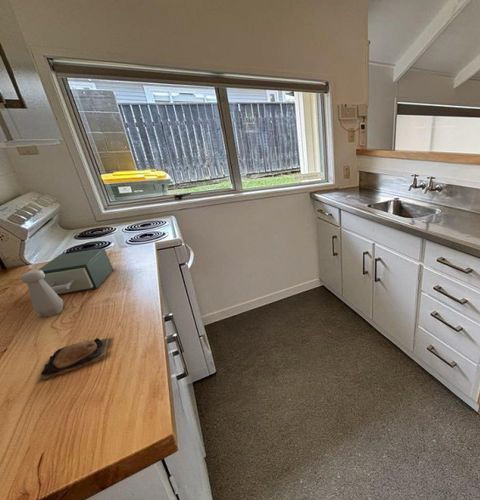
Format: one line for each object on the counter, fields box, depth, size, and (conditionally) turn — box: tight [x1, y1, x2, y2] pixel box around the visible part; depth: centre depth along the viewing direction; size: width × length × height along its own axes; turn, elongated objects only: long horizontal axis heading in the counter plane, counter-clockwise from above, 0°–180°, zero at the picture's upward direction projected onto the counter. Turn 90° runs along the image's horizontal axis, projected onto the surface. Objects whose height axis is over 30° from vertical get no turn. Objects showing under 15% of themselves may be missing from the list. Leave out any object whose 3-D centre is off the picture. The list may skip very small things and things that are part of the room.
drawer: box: [43, 267, 93, 294], centre depth 91 cm, size 19×12×7 cm, turn 21°
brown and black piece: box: [40, 337, 109, 381], centre depth 62 cm, size 11×8×4 cm
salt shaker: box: [20, 269, 64, 318], centre depth 78 cm, size 6×6×13 cm
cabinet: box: [38, 247, 114, 296], centre depth 95 cm, size 15×13×9 cm
